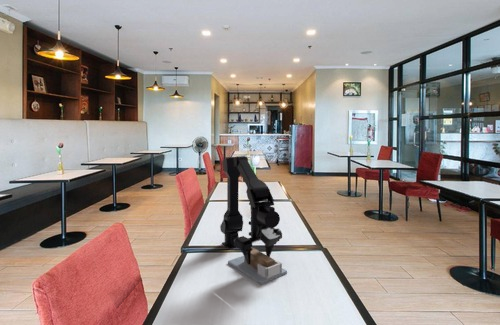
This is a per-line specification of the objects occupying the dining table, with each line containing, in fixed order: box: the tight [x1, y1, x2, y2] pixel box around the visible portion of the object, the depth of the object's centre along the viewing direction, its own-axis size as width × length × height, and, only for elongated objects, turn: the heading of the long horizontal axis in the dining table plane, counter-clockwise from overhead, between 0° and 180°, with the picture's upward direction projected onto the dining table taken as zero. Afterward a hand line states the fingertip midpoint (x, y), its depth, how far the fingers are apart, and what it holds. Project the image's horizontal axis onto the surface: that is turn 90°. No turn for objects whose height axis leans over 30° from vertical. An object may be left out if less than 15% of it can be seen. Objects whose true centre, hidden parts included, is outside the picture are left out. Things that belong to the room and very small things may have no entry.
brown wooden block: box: [244, 246, 276, 270], centre depth 115 cm, size 14×4×5 cm, turn 35°
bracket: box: [227, 255, 288, 285], centre depth 116 cm, size 20×12×4 cm, turn 38°
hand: (258, 260), depth 115 cm, fingers open, 9 cm apart
